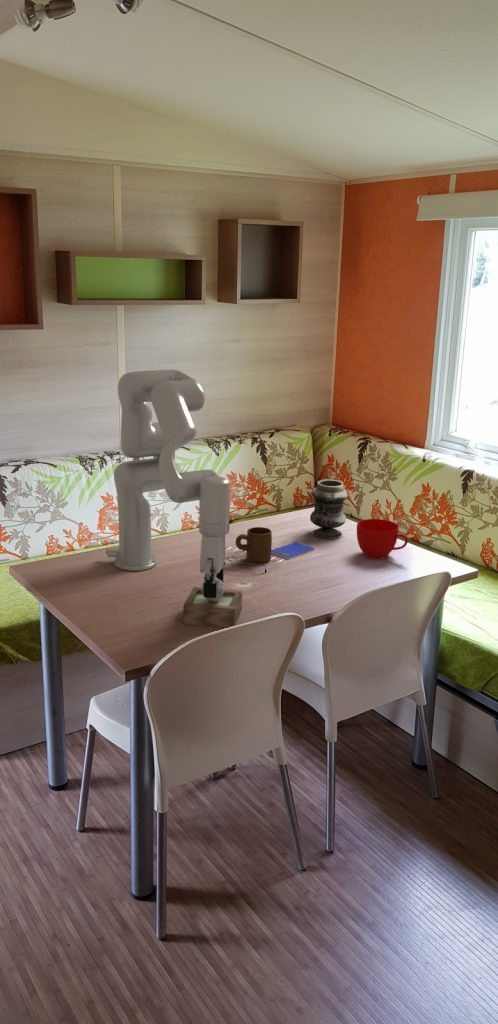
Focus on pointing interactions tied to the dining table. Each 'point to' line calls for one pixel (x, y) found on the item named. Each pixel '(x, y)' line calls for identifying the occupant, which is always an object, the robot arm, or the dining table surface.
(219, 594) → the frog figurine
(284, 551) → the hard drive
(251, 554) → the mug
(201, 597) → the pedestal
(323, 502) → the apothecary jar
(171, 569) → the dining table surface
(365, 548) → the ceramic cup
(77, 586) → the dining table surface
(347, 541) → the dining table surface
